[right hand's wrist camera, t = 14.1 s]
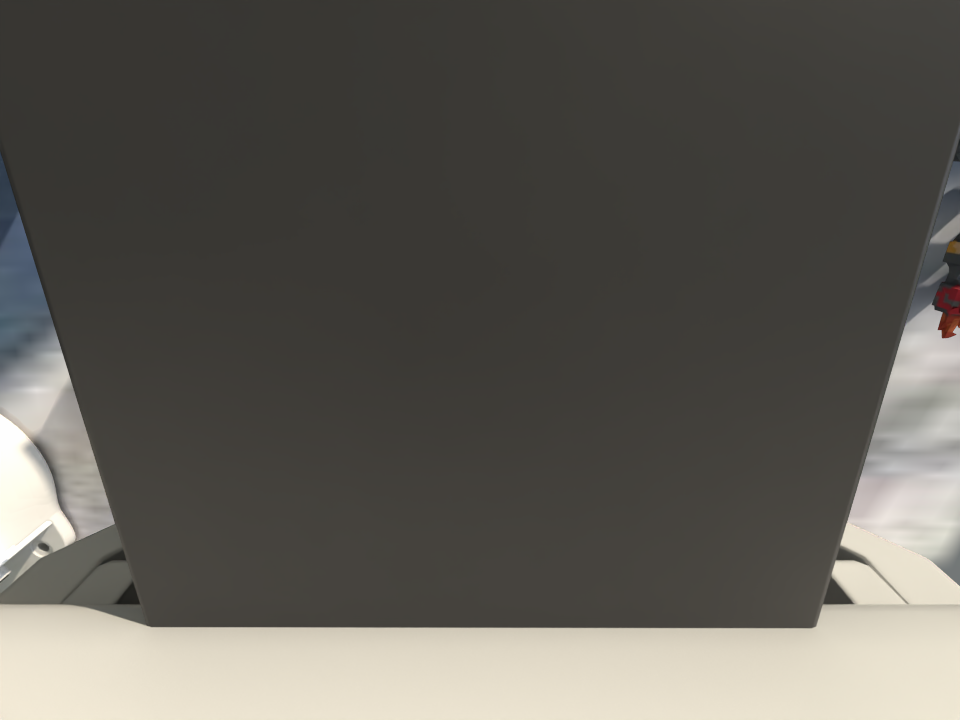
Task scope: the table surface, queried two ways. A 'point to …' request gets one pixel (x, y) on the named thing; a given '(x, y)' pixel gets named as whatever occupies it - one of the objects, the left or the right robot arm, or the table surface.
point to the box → (479, 293)
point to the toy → (950, 285)
